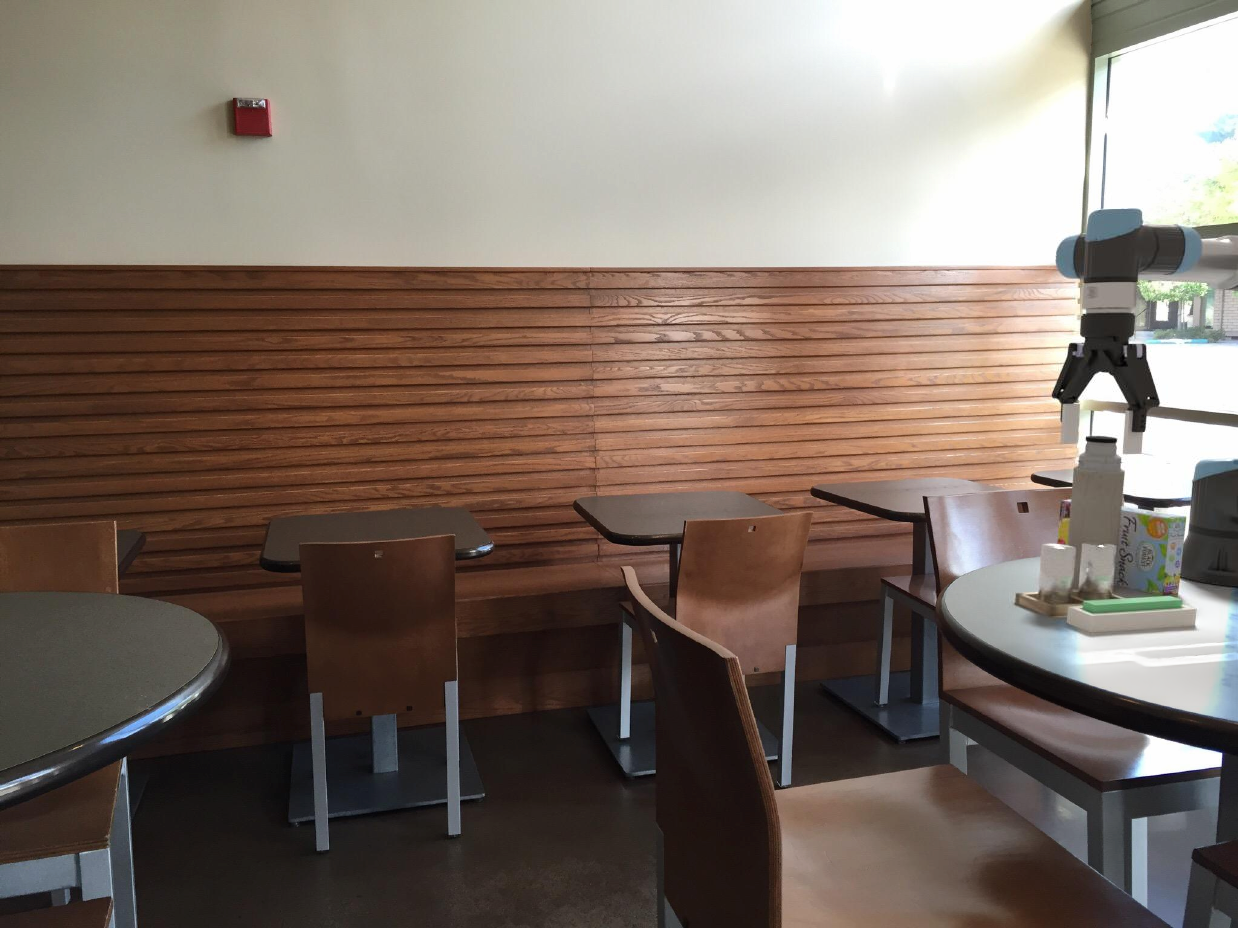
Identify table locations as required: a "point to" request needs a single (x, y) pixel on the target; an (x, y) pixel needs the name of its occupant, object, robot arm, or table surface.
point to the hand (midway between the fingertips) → (1099, 448)
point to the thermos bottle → (1096, 498)
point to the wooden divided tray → (1048, 609)
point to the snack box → (1143, 548)
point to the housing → (1130, 619)
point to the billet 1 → (1056, 574)
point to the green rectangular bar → (1132, 604)
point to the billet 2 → (1097, 571)
